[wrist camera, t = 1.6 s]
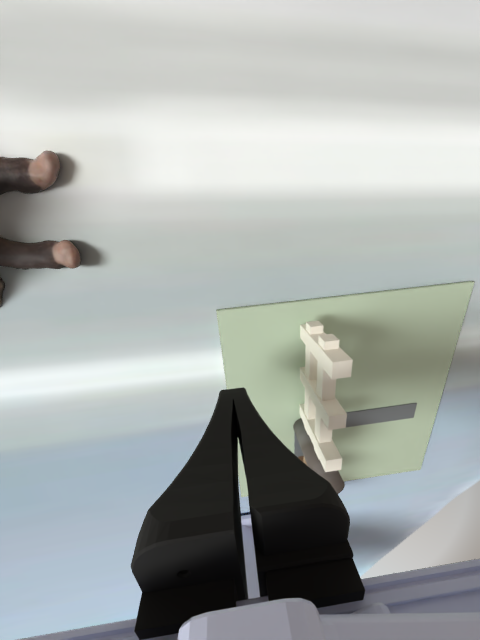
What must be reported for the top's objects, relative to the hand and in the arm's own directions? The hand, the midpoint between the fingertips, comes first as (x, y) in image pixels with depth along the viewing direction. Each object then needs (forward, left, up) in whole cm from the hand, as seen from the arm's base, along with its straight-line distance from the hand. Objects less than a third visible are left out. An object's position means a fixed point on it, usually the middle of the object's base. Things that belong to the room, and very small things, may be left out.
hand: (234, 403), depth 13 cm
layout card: (-6, -8, -5) cm, 11 cm away
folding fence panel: (-2, -6, -4) cm, 7 cm away
